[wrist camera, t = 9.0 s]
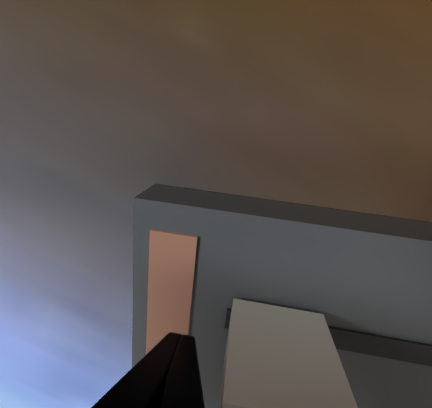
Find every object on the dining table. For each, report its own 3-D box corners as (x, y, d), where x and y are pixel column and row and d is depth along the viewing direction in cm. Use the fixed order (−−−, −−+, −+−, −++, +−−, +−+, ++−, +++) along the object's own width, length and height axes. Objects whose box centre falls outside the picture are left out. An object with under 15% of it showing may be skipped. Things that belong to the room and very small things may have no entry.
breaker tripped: (226, 344, 10) (212, 461, 6) (233, 298, 9) (222, 402, 6) (309, 359, 9) (342, 491, 6) (323, 314, 9) (366, 432, 5)
